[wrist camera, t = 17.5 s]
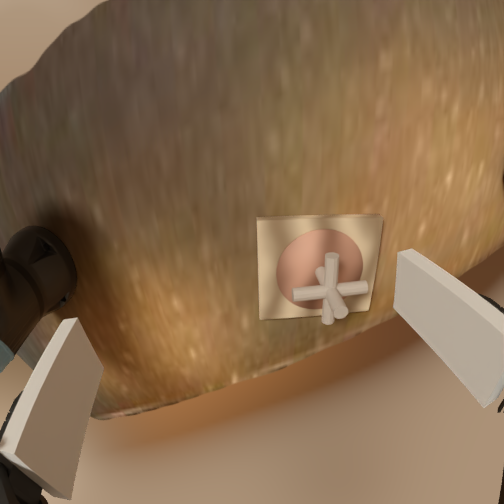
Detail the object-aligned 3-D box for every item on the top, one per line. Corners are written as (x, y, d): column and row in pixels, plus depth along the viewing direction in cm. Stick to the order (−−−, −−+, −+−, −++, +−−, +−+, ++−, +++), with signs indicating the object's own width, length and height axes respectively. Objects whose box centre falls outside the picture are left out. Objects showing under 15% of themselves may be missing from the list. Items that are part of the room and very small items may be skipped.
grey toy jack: (350, 297, 45) (373, 338, 36) (287, 304, 45) (298, 349, 36) (355, 237, 41) (385, 270, 32) (286, 242, 41) (299, 279, 32)
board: (259, 314, 48) (259, 320, 46) (256, 217, 41) (257, 221, 39) (365, 305, 48) (369, 311, 46) (379, 214, 41) (384, 218, 40)
